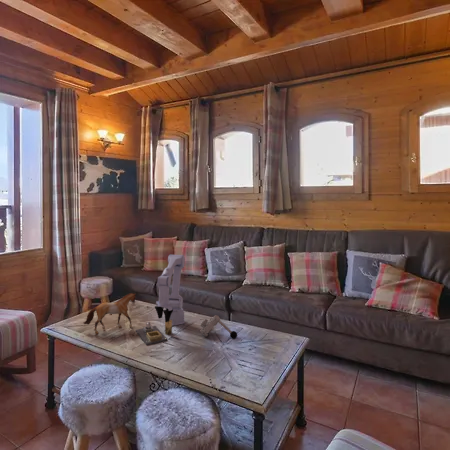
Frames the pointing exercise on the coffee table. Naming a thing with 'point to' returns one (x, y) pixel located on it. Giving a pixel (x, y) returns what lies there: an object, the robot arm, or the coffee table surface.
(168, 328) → the brass fitting
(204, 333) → the valve
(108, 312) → the horse figurine
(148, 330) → the plate
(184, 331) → the coffee table surface
